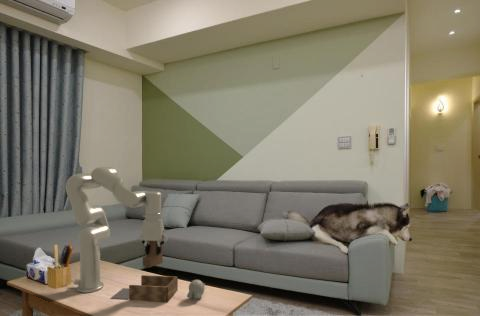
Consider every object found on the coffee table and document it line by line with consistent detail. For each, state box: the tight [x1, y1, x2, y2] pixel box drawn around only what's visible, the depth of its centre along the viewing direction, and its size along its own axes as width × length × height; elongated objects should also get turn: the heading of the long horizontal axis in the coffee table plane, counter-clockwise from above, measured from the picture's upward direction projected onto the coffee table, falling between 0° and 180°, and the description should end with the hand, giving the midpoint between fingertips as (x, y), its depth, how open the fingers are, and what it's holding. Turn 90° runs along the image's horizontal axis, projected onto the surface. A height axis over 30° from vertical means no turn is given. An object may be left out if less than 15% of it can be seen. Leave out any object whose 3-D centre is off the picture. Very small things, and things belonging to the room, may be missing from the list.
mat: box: [110, 287, 129, 301], centre depth 159 cm, size 9×12×1 cm
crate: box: [128, 274, 179, 303], centre depth 157 cm, size 19×14×7 cm
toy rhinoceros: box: [186, 279, 206, 300], centre depth 155 cm, size 7×12×8 cm, turn 160°
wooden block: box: [142, 241, 164, 268], centre depth 158 cm, size 9×4×18 cm, turn 148°
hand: (153, 253), depth 158 cm, fingers closed on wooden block, 5 cm apart
